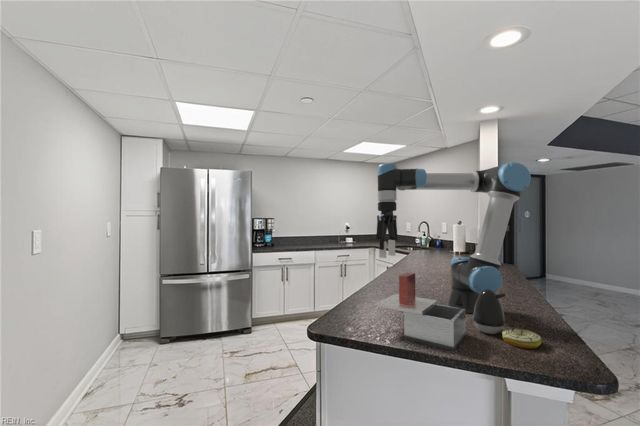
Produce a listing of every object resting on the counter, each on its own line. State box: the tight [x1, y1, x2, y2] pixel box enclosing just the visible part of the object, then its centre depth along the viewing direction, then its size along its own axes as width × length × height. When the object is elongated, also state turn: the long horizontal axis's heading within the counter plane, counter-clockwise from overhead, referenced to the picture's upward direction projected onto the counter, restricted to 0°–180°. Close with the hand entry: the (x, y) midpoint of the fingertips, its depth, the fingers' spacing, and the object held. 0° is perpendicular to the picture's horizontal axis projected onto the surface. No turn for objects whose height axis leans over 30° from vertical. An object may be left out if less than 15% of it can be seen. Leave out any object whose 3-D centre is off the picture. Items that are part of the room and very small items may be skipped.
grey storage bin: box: [403, 303, 467, 351], centre depth 107 cm, size 16×16×9 cm
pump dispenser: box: [472, 289, 506, 335], centre depth 111 cm, size 10×10×15 cm
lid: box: [376, 272, 439, 315], centre depth 113 cm, size 17×17×11 cm
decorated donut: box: [501, 328, 542, 350], centre depth 101 cm, size 10×11×4 cm
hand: (387, 256), depth 127 cm, fingers open, 8 cm apart
